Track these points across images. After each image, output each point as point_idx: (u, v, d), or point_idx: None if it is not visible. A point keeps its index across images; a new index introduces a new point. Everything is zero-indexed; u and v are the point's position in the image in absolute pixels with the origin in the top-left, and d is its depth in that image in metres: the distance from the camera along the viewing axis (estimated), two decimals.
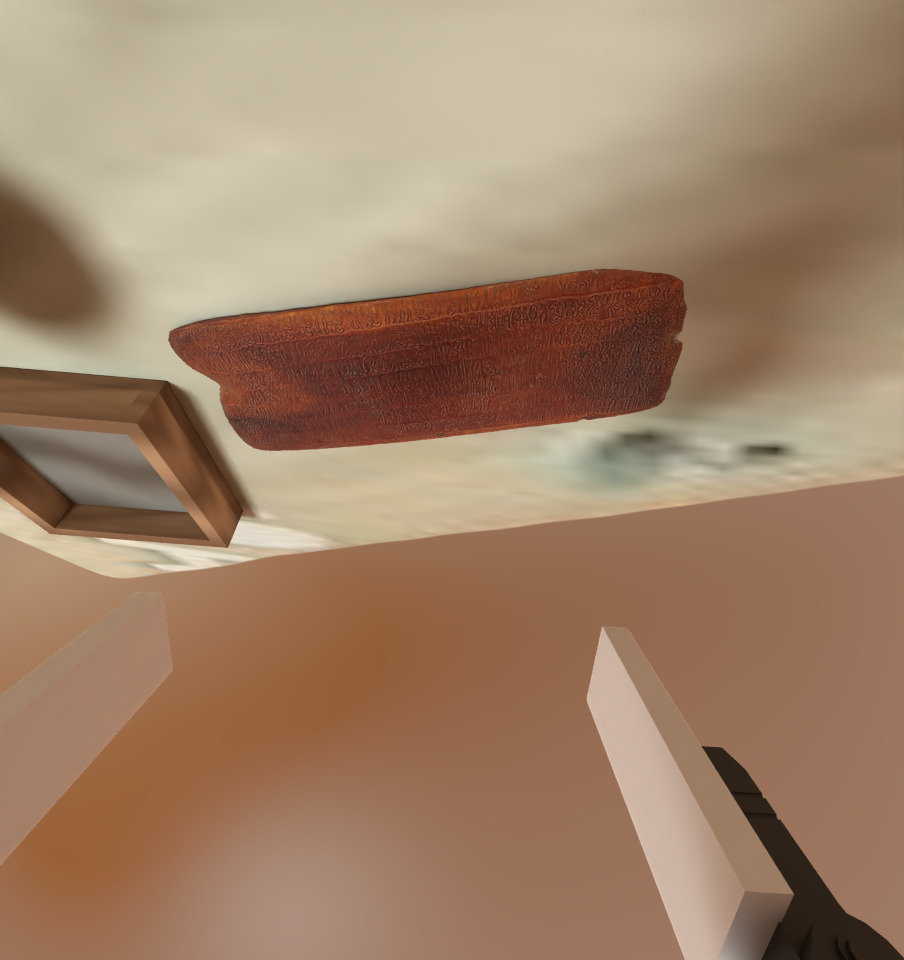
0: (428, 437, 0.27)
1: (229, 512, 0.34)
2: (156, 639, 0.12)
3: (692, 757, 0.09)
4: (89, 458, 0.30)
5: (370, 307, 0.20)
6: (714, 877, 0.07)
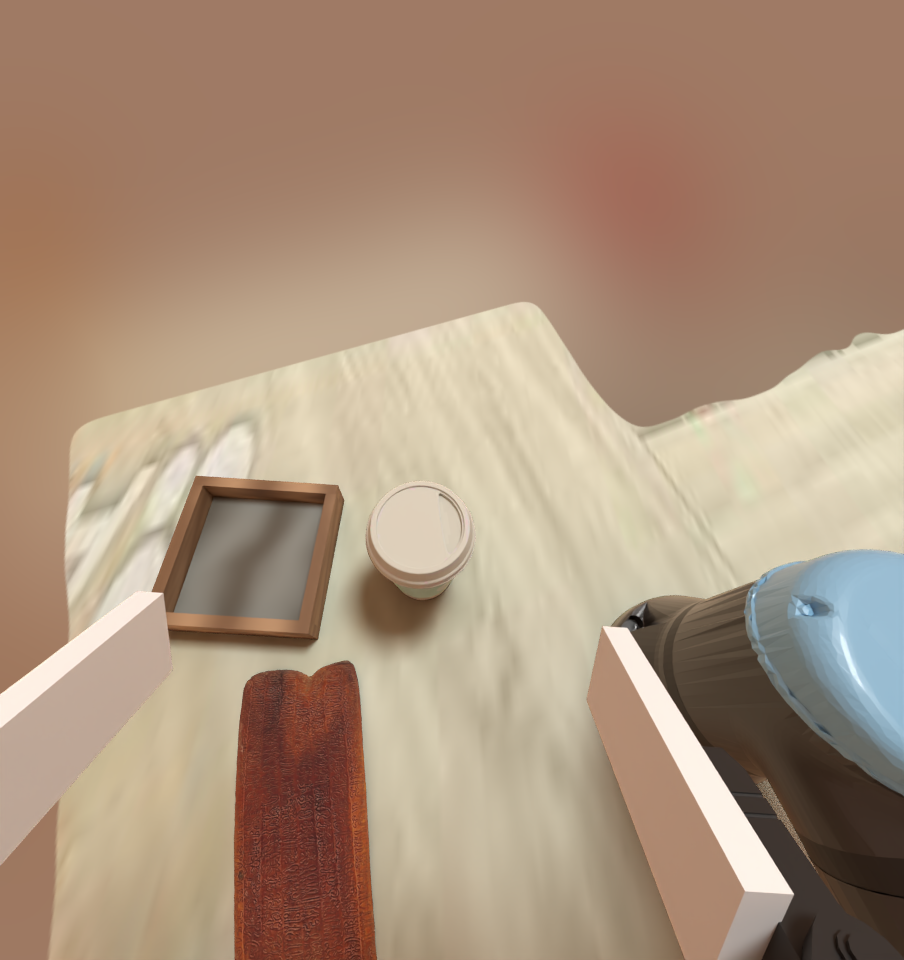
0: (239, 861, 0.31)
1: (175, 628, 0.38)
2: (156, 639, 0.12)
3: (692, 757, 0.09)
4: (262, 548, 0.42)
5: (364, 818, 0.33)
6: (714, 877, 0.07)
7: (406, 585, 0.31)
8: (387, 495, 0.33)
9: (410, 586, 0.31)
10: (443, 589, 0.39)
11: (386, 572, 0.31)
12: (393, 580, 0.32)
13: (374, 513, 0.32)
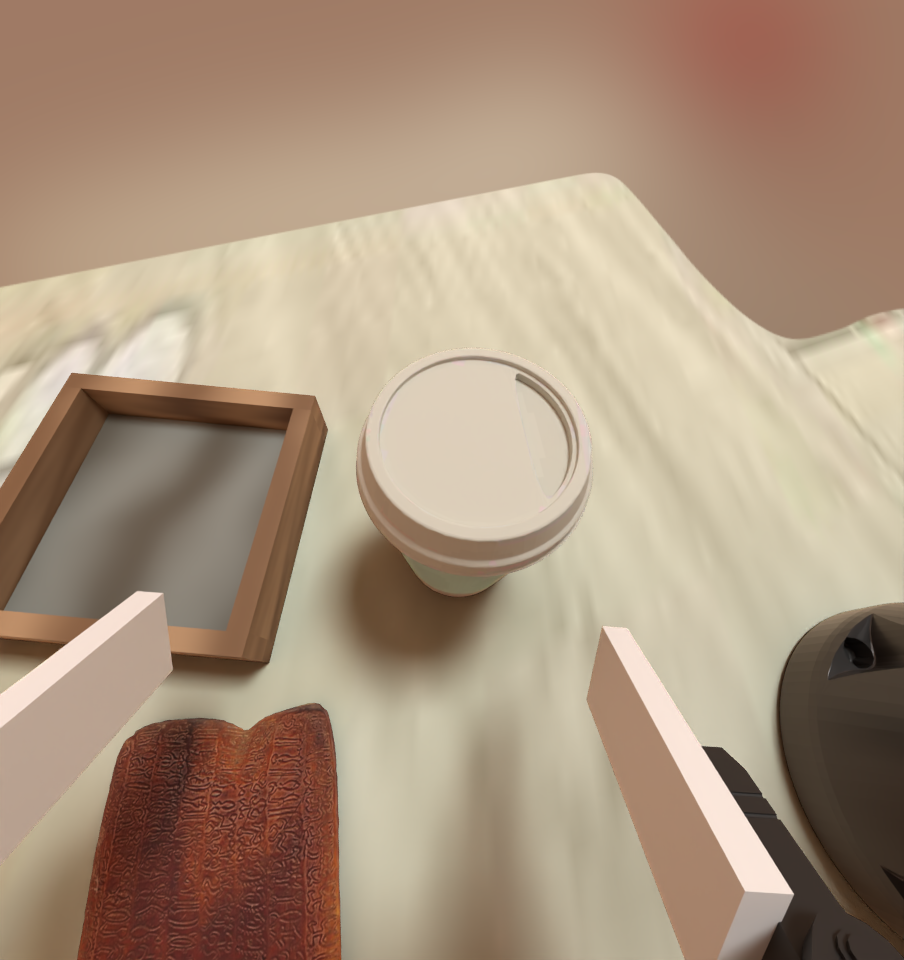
0: None
1: (3, 637, 0.20)
2: (156, 639, 0.12)
3: (692, 757, 0.09)
4: (180, 499, 0.24)
5: None
6: (714, 877, 0.07)
7: (445, 568, 0.14)
8: (405, 372, 0.15)
9: (454, 571, 0.14)
10: None
11: (400, 537, 0.14)
12: (415, 556, 0.14)
13: (376, 406, 0.14)
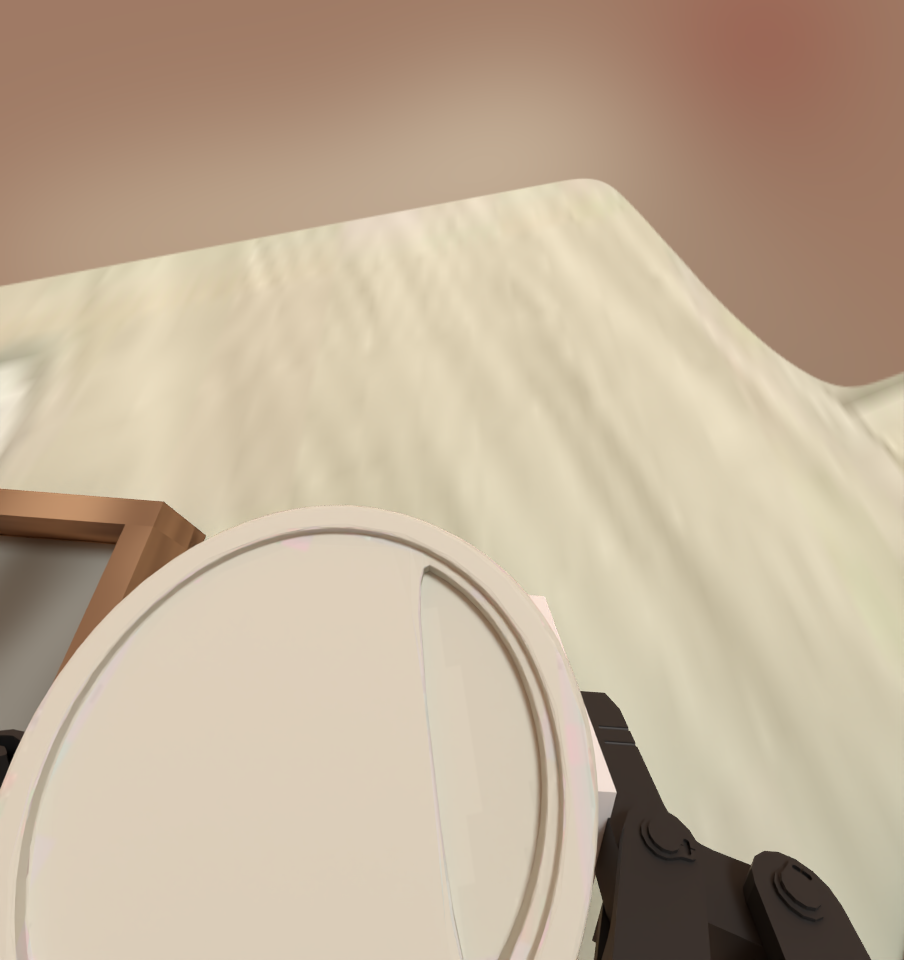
0: None
1: None
2: None
3: None
4: None
5: None
6: None
7: None
8: (160, 579, 0.06)
9: None
10: None
11: None
12: None
13: (56, 690, 0.06)
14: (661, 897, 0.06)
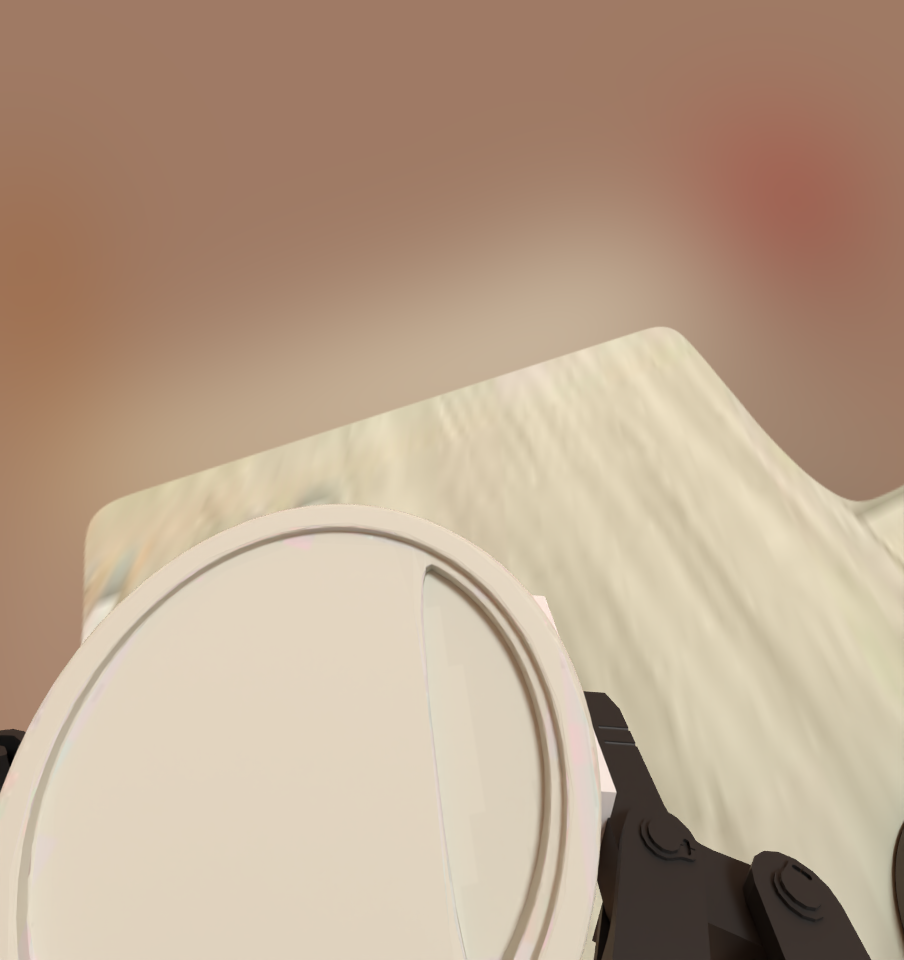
0: None
1: None
2: None
3: None
4: None
5: None
6: None
7: None
8: (162, 578, 0.06)
9: None
10: None
11: None
12: None
13: (58, 689, 0.06)
14: (661, 897, 0.06)
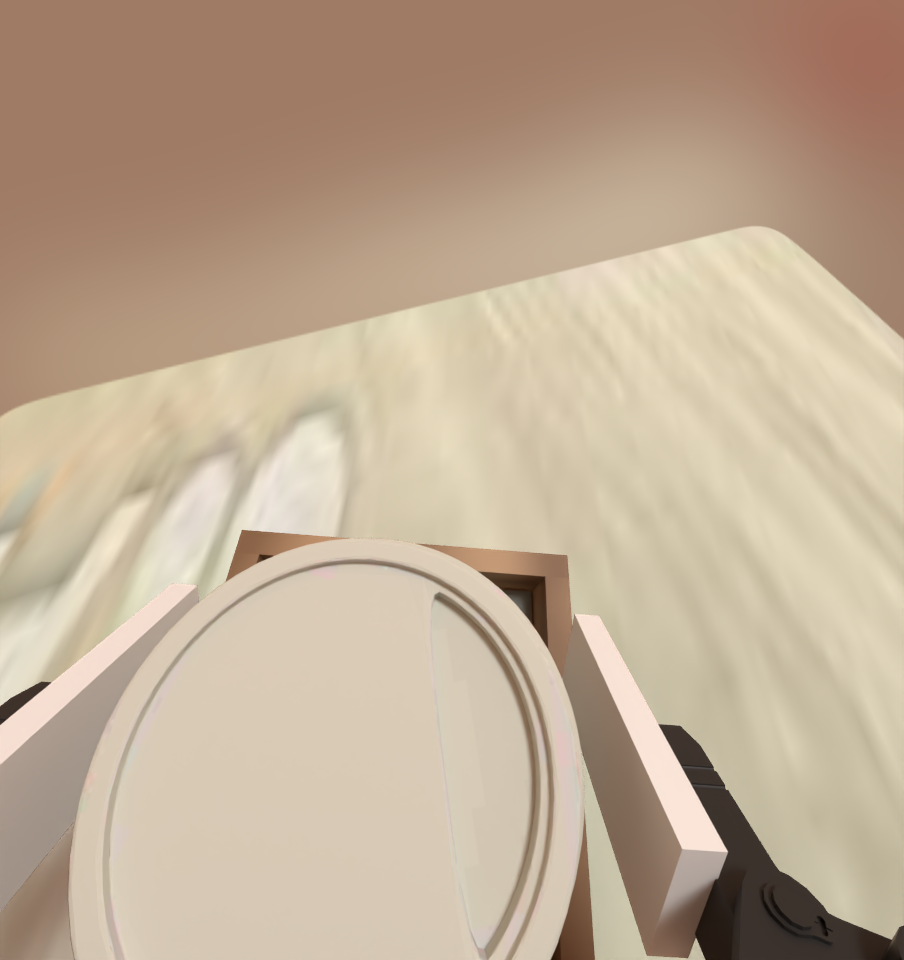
0: None
1: None
2: None
3: (647, 732, 0.09)
4: None
5: None
6: (658, 839, 0.08)
7: None
8: (207, 606, 0.07)
9: None
10: None
11: None
12: None
13: (125, 703, 0.07)
14: None
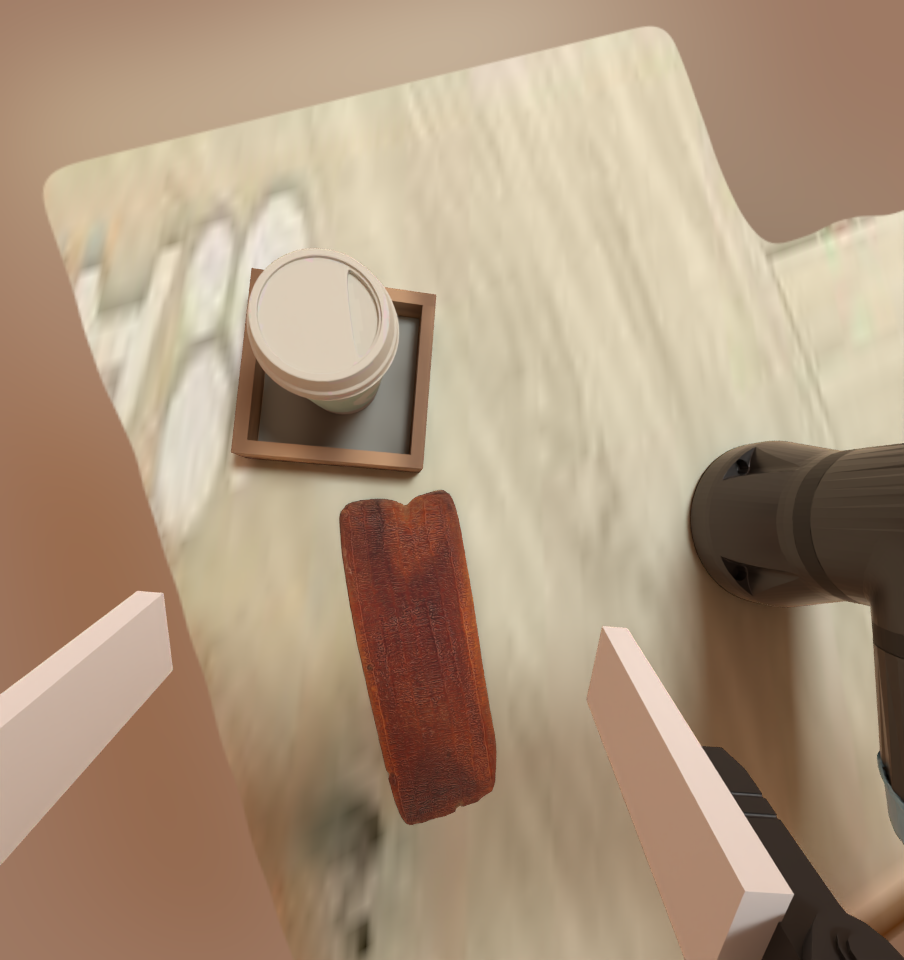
0: (366, 657, 0.35)
1: (266, 457, 0.34)
2: (156, 639, 0.12)
3: (692, 757, 0.09)
4: None
5: (474, 623, 0.36)
6: (714, 877, 0.07)
7: (305, 395, 0.24)
8: (271, 267, 0.23)
9: (311, 397, 0.25)
10: (364, 403, 0.32)
11: (276, 377, 0.24)
12: (288, 388, 0.24)
13: (253, 292, 0.23)
14: None
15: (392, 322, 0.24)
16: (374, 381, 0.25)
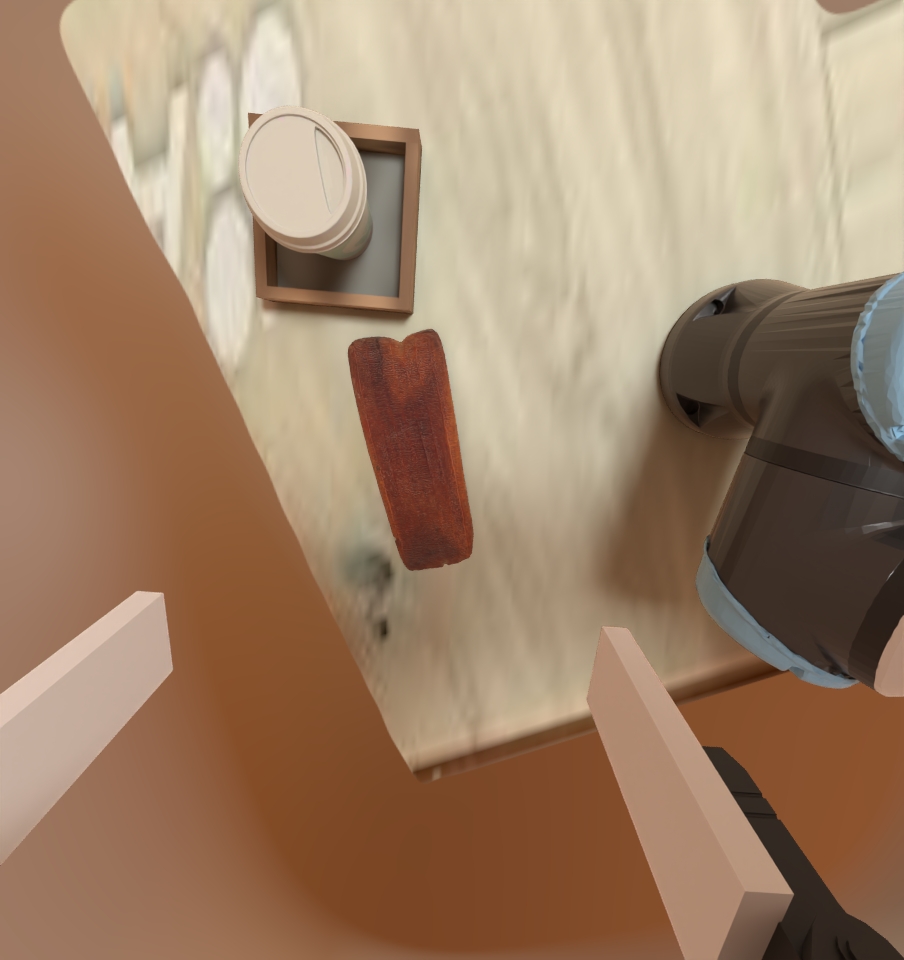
0: (374, 460, 0.47)
1: (285, 301, 0.41)
2: (156, 639, 0.12)
3: (692, 757, 0.09)
4: None
5: (456, 439, 0.46)
6: (714, 877, 0.07)
7: (295, 249, 0.31)
8: (251, 129, 0.27)
9: (300, 250, 0.31)
10: (357, 250, 0.38)
11: (270, 234, 0.30)
12: (281, 243, 0.31)
13: (241, 157, 0.28)
14: None
15: (356, 177, 0.29)
16: (348, 234, 0.31)
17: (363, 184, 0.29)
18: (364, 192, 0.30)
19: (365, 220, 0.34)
